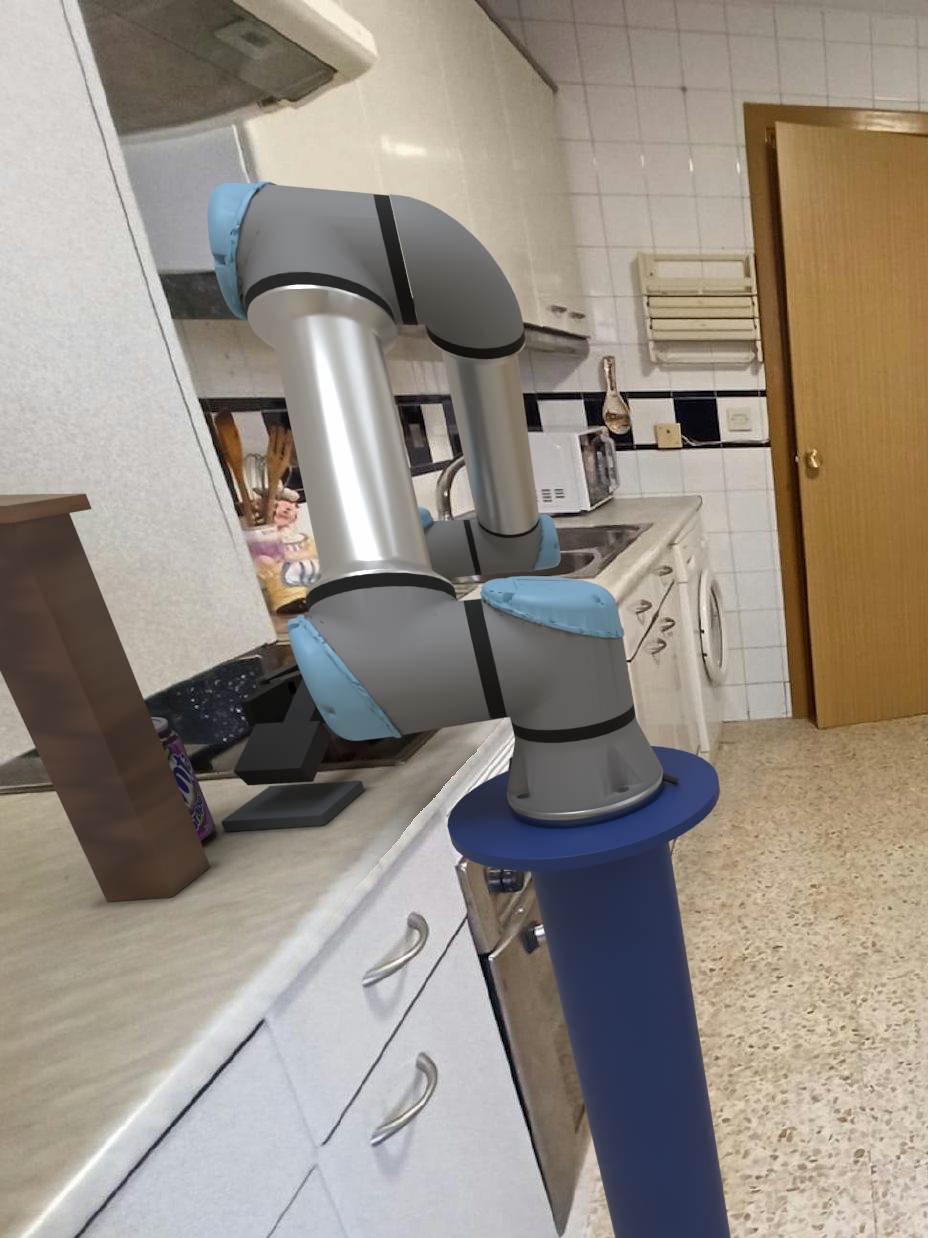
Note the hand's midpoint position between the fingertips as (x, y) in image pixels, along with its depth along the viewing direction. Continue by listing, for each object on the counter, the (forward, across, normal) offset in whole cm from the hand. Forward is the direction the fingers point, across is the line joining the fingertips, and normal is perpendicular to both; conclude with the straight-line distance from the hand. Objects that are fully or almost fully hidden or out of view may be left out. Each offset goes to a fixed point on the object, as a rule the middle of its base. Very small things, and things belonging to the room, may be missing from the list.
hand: (285, 712), depth 87 cm
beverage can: (+9, +8, -10) cm, 16 cm away
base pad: (+3, 0, -10) cm, 10 cm away
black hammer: (-3, 0, -2) cm, 4 cm away
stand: (+16, +4, -10) cm, 20 cm away
